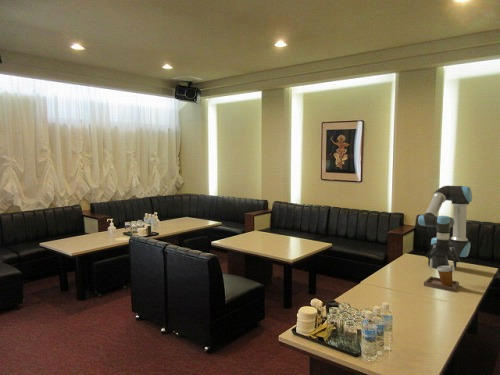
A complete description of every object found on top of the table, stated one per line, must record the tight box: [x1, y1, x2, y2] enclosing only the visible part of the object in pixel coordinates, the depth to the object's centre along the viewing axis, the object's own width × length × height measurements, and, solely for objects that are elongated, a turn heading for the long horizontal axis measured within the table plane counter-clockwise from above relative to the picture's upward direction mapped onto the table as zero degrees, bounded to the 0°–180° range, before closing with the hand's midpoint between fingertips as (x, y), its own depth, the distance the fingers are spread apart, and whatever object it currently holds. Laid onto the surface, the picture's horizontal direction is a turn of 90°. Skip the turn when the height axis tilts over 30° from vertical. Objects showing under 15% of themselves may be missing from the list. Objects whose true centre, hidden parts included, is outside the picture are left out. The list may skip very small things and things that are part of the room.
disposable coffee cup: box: [436, 265, 453, 286], centre depth 238 cm, size 10×10×12 cm
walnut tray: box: [423, 276, 460, 293], centre depth 240 cm, size 16×18×2 cm
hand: (441, 270), depth 240 cm, fingers open, 13 cm apart
